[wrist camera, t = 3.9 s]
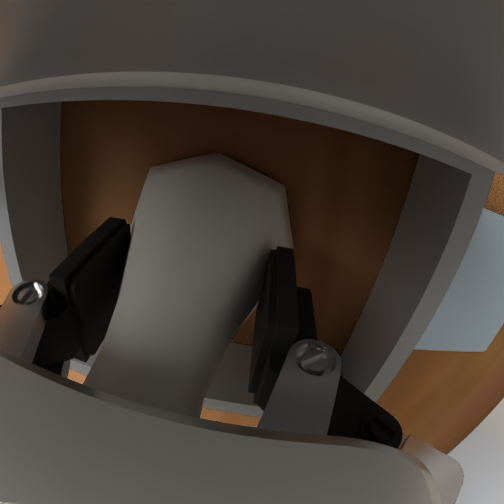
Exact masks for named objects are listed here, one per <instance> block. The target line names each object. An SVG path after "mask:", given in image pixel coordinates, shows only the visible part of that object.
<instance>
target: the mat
mask: <svg viewBox="0 0 504 504" xmlns="http://www.w3.org/2000/svg"><path fill="white" fill-rule="evenodd" d="M503 324H504V216H502V215H500V214H497V213H495V212H493V211H490V210H488V209H485V208H483V211H482V214H481V217H480V219H479V222H478V224H477V227H476V230H475V232H474V234H473V237H472V239H471V242H470V244H469V246H468V249H467V251H466V253H465V256H464V258H463V260H462V262H461V264H460V266H459V269H458V271H457V273H456V275H455V277H454V279H453V281H452V283H451V285H450V287H449V289H448V291H447V293H446V295H445V297H444V298H443V300H442V302H441V304H440V306H439V308H438V309H437V311H436V313H435V315H434V317H433V318H432V320H431V322H430V324H429V325H428V327H427V329H426V330H425V332H424V334H423V335H422V337H421V338H420V340H419V342H418V343H417V345H416V346H415V348H414V350H433V351H464V352H485V350H486V349H487V348H488V346H489V345H490V343H491V342H492V340H493V339H494V337H495V336H496V334H497V333H498V331H499V330H500V328H501V327H502V325H503Z"/></svg>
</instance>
